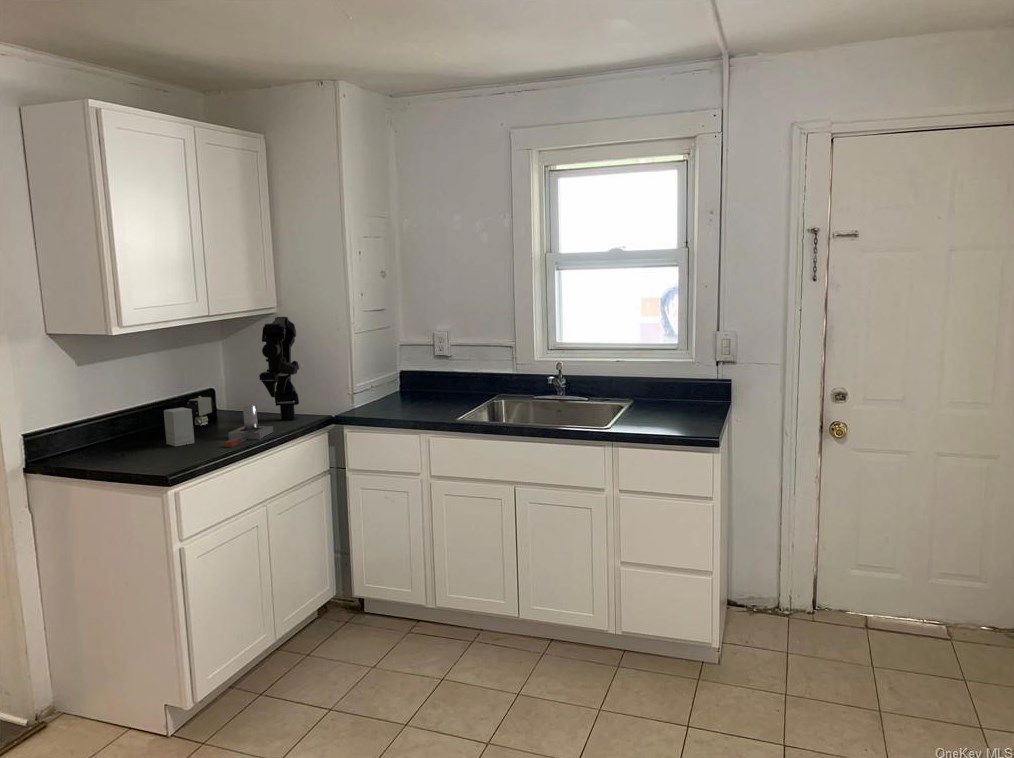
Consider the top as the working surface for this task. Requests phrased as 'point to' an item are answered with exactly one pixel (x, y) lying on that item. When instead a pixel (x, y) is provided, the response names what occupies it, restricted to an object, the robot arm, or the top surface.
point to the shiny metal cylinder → (250, 417)
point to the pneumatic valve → (200, 408)
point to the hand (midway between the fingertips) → (277, 395)
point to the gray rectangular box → (247, 435)
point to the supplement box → (179, 426)
